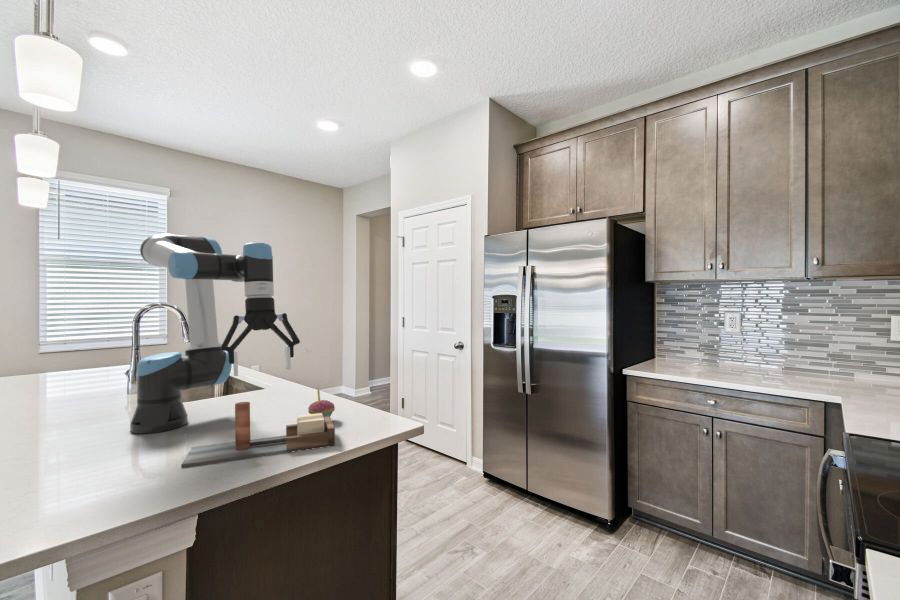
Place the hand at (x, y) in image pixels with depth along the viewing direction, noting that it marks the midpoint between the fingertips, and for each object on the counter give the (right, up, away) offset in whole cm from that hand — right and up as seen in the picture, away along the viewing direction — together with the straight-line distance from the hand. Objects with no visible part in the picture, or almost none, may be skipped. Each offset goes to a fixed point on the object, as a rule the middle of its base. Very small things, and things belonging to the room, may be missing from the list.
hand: (263, 372), depth 113 cm
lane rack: (+1, -21, -2) cm, 21 cm away
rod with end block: (+5, -20, 0) cm, 20 cm away
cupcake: (+10, -21, +21) cm, 31 cm away
